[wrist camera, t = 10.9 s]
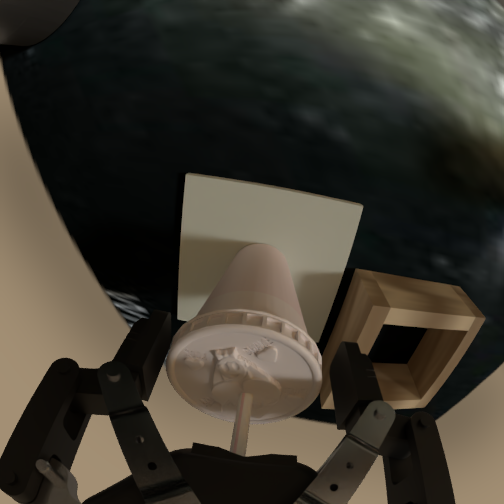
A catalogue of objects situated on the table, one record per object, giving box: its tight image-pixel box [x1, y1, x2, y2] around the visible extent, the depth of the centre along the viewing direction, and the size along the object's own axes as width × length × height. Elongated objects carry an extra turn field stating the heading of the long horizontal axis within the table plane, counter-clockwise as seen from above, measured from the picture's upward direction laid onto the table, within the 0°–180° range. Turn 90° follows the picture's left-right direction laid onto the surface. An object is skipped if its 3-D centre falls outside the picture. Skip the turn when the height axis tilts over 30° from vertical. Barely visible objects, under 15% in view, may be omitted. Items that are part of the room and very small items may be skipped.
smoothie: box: [166, 244, 322, 457], centre depth 13 cm, size 6×6×14 cm
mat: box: [178, 173, 363, 342], centre depth 20 cm, size 11×11×1 cm
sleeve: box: [320, 269, 485, 409], centre depth 20 cm, size 10×10×4 cm
